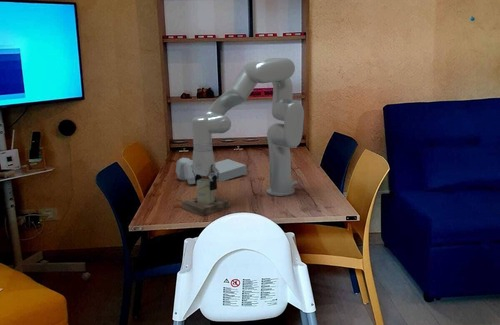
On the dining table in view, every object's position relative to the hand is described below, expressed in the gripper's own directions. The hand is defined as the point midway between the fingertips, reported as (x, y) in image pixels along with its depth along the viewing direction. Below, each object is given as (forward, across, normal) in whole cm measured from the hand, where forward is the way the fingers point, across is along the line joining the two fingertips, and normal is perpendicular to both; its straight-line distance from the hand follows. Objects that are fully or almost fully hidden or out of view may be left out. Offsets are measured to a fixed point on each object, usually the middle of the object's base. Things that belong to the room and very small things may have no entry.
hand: (206, 187), depth 199 cm
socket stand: (+9, 0, -1) cm, 9 cm away
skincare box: (+9, 0, -1) cm, 9 cm away
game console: (+10, -36, +31) cm, 49 cm away
